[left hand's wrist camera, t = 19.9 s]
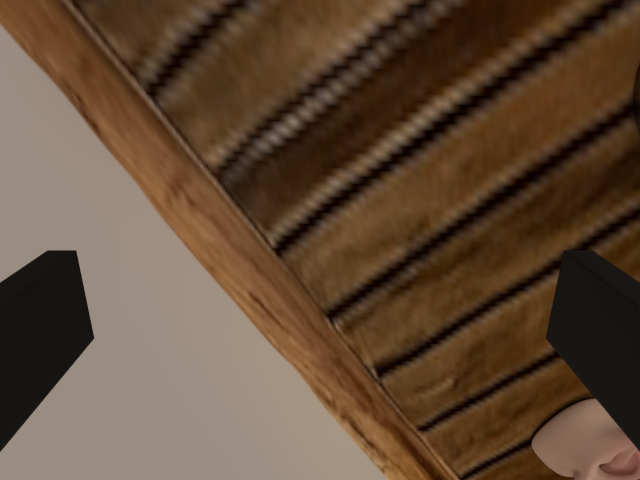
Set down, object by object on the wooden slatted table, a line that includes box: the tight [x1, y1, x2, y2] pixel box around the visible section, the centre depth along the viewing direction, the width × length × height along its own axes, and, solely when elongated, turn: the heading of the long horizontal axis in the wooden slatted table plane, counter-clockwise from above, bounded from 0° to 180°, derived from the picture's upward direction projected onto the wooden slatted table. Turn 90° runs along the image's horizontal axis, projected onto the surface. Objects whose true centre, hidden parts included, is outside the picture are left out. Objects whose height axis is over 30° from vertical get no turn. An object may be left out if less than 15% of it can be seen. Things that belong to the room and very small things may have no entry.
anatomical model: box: [532, 399, 640, 480], centre depth 47 cm, size 13×4×12 cm
